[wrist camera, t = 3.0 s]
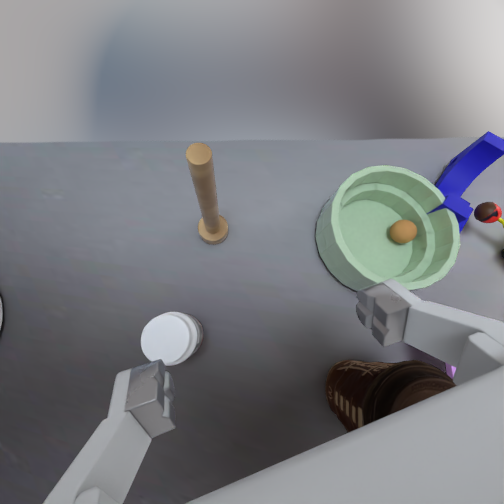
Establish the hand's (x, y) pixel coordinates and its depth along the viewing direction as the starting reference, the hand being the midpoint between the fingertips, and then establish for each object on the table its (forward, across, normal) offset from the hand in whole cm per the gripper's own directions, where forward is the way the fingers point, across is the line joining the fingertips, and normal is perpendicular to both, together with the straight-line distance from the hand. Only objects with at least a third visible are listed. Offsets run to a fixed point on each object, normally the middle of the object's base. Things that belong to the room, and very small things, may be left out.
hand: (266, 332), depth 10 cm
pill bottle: (+16, +7, +14) cm, 22 cm away
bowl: (+18, -19, +11) cm, 29 cm away
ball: (+17, -22, +10) cm, 30 cm away
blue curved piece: (+20, -32, +9) cm, 38 cm away
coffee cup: (+8, -9, +22) cm, 25 cm away
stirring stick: (+23, 0, +6) cm, 24 cm away
